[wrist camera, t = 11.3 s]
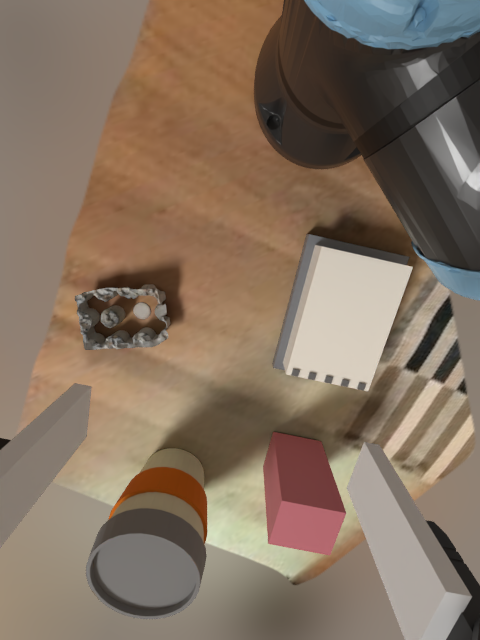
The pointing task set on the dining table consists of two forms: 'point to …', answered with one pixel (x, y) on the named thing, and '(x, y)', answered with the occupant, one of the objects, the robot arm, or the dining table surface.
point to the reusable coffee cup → (153, 540)
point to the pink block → (301, 495)
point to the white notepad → (340, 312)
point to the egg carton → (120, 318)
